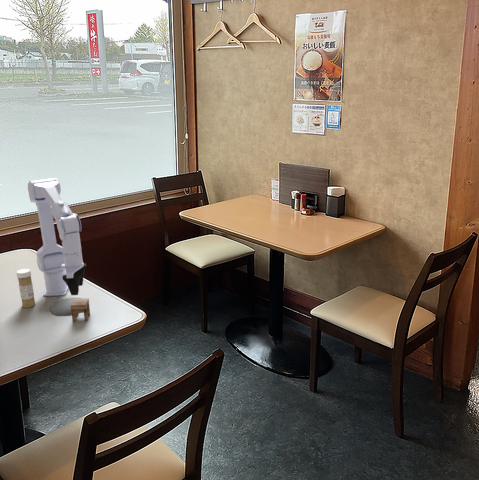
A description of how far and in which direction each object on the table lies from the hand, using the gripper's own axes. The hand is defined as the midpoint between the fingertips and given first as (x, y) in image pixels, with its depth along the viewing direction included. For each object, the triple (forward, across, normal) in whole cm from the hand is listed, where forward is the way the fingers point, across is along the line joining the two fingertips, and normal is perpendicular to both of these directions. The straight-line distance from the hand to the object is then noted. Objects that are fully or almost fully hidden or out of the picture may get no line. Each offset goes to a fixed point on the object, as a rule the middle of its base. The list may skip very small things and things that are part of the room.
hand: (77, 290), depth 170 cm
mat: (+10, -9, -6) cm, 15 cm away
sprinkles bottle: (+11, -12, -20) cm, 26 cm away
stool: (+10, 0, 0) cm, 10 cm away
